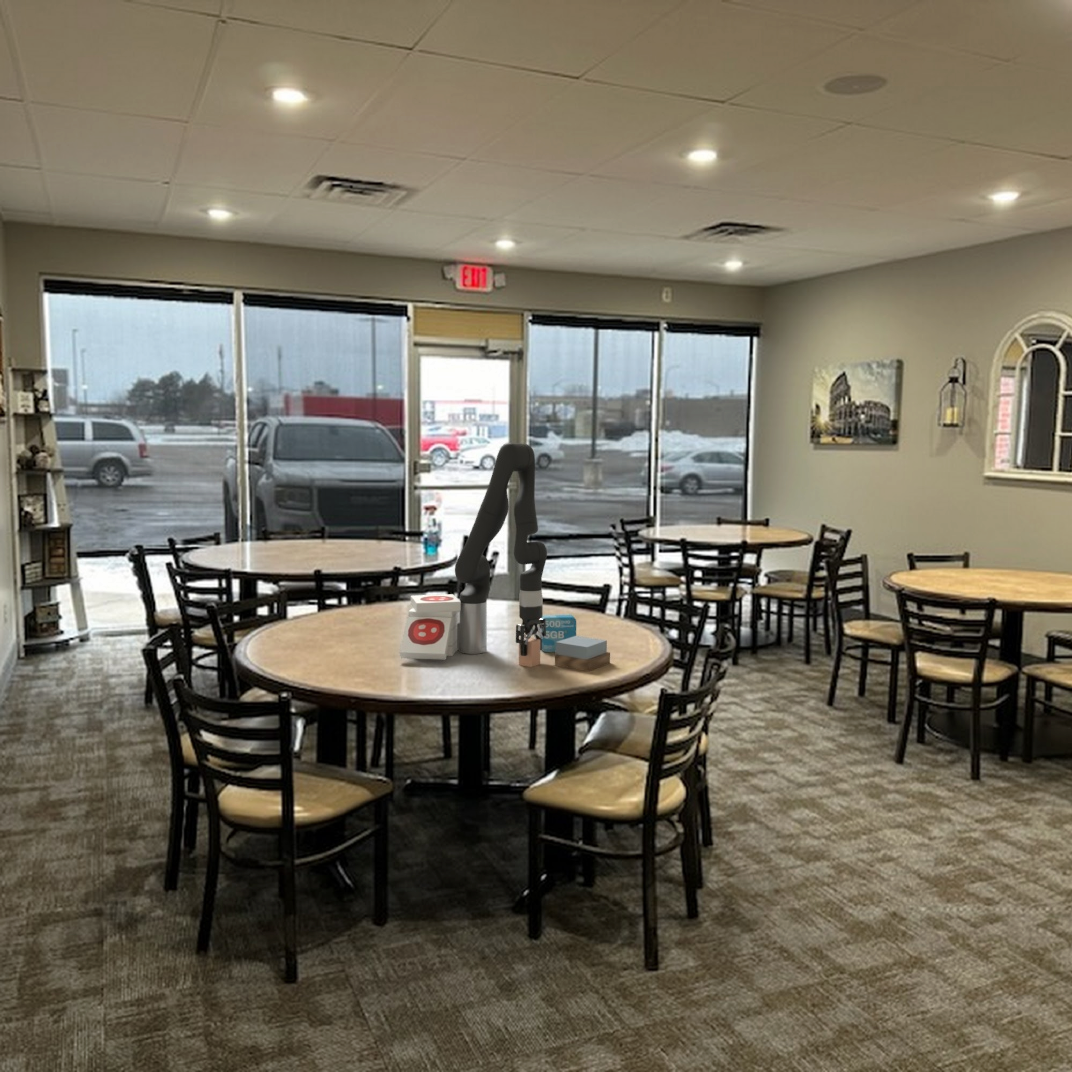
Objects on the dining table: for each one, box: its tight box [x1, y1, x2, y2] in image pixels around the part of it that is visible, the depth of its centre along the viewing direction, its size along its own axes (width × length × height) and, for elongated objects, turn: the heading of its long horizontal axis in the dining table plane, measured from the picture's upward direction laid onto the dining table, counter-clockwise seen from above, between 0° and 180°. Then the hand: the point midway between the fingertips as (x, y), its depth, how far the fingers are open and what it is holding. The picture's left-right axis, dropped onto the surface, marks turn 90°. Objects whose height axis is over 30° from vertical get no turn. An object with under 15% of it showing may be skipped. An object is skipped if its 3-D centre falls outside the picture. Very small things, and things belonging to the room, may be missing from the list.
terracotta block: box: [518, 637, 541, 668], centre depth 308 cm, size 5×5×8 cm
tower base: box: [554, 651, 611, 672], centre depth 309 cm, size 13×13×4 cm
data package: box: [541, 614, 577, 653], centre depth 328 cm, size 12×4×12 cm, turn 96°
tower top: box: [555, 635, 608, 660], centre depth 308 cm, size 12×12×4 cm
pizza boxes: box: [398, 593, 461, 660], centre depth 321 cm, size 19×30×18 cm, turn 175°
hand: (531, 653), depth 308 cm, fingers open, 8 cm apart
